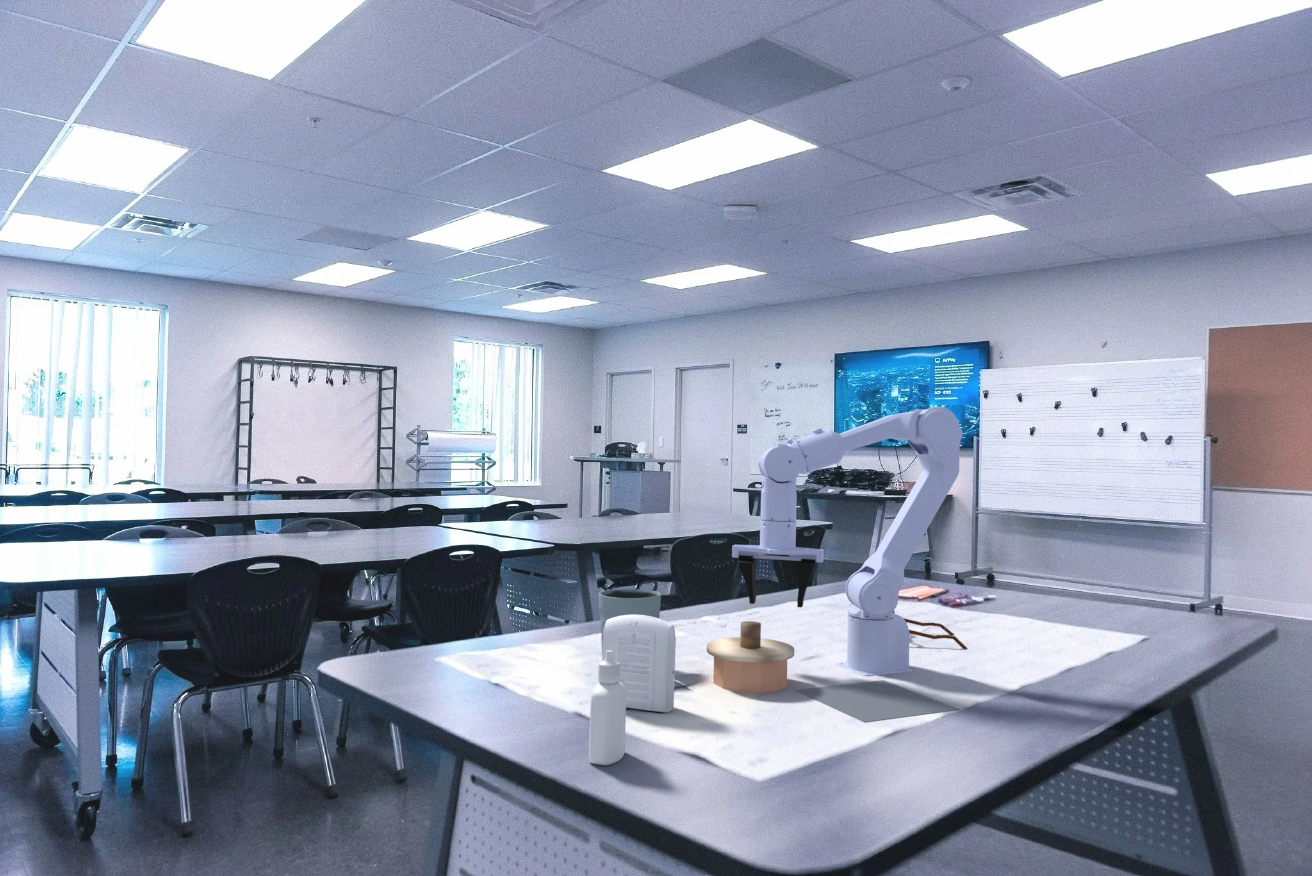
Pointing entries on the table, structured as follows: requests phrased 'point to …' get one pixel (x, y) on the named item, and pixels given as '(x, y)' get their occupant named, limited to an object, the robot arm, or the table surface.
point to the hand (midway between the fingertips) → (776, 604)
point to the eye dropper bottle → (607, 714)
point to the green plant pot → (627, 604)
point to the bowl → (750, 675)
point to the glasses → (933, 635)
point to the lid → (750, 646)
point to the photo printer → (643, 659)
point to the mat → (876, 700)
